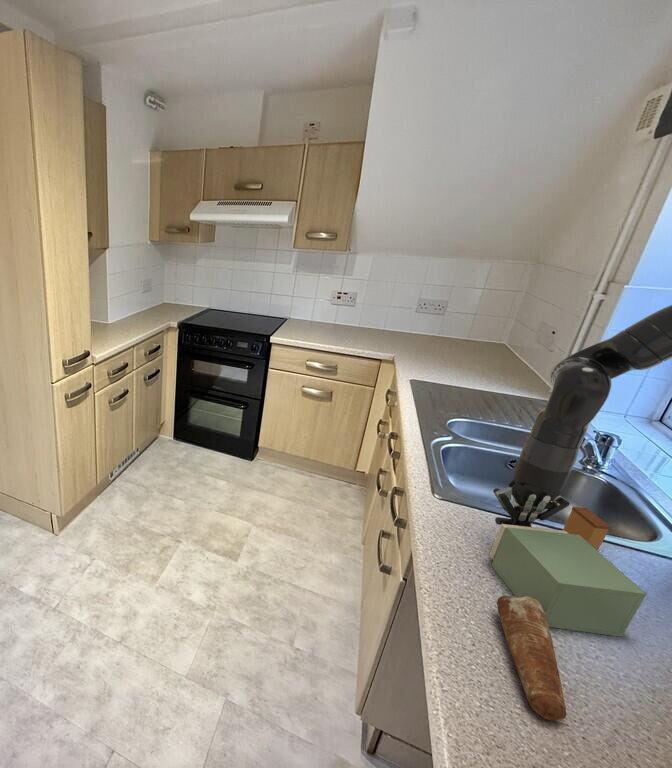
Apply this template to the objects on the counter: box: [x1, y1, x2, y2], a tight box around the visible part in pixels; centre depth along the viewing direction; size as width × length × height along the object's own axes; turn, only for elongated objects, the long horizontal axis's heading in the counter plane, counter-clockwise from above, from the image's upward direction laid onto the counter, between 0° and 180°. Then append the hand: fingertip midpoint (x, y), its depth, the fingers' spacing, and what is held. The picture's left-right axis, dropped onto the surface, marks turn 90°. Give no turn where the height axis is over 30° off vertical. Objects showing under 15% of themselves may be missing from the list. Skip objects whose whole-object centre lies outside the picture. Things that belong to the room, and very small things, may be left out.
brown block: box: [562, 506, 611, 552], centre depth 87 cm, size 3×6×8 cm, turn 171°
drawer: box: [489, 516, 568, 560], centre depth 79 cm, size 18×11×8 cm, turn 171°
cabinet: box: [491, 527, 648, 638], centre depth 74 cm, size 14×13×10 cm
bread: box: [496, 595, 567, 722], centre depth 63 cm, size 6×19×6 cm, turn 149°
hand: (515, 532), depth 85 cm, fingers closed
